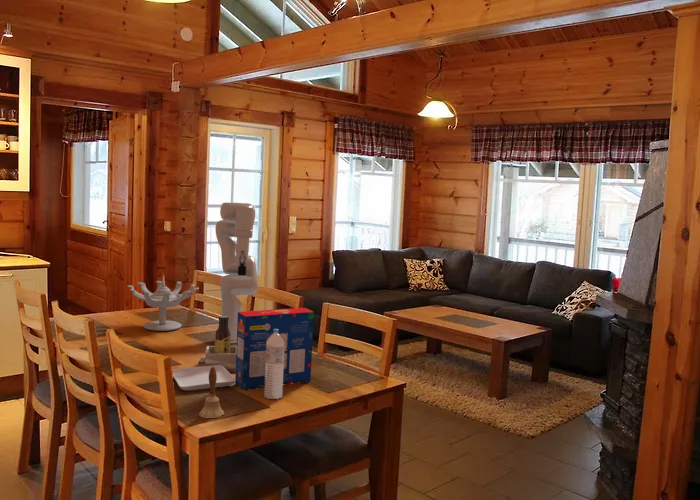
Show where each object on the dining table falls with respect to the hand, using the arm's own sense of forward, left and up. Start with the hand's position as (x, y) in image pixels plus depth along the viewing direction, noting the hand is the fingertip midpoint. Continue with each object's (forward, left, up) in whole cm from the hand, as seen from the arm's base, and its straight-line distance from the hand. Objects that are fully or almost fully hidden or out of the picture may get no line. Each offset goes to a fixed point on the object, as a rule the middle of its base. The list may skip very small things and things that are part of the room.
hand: (241, 273), depth 275 cm
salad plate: (+35, -14, -37) cm, 53 cm away
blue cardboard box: (+36, +13, -37) cm, 53 cm away
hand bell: (+68, -9, -37) cm, 78 cm away
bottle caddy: (+15, -7, -37) cm, 40 cm away
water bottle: (+52, +12, -37) cm, 65 cm away
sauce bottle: (+15, -7, -36) cm, 39 cm away
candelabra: (-51, -38, -37) cm, 73 cm away
